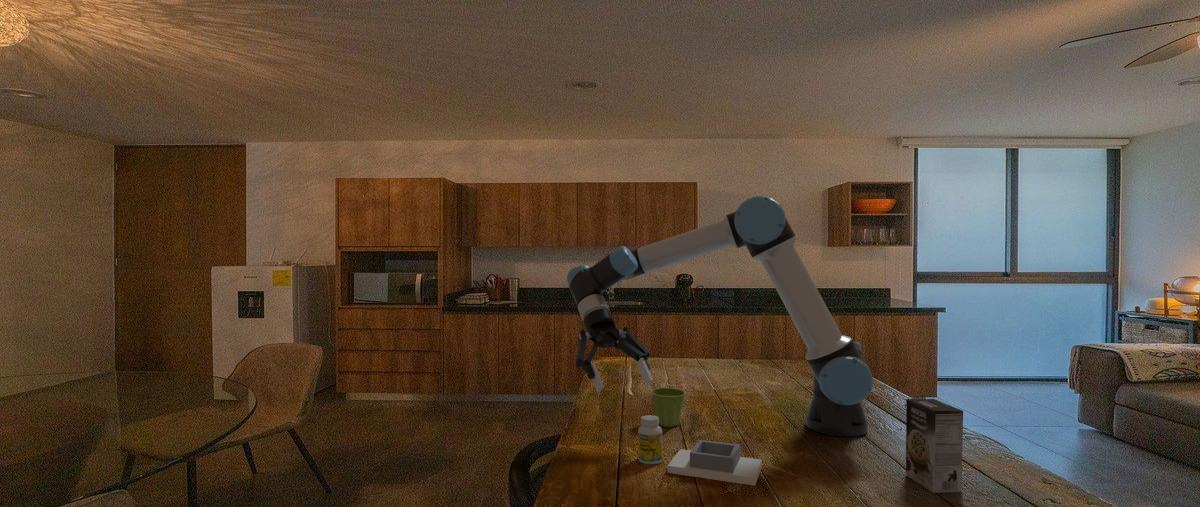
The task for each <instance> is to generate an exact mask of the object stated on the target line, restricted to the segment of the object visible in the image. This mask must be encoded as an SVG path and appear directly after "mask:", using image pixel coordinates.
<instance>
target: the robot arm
mask: <svg viewBox="0 0 1200 507" xmlns="http://www.w3.org/2000/svg"><path fill="white" fill-rule="evenodd" d="M796 238H797V236H796V234H795V232H794V230H793V228H792V227H791V225H790V223H789V220H788V219H787V217H786V214H785V210H784V207H782V205H781V204H780V203H779V202H778V201H777V200H776V199H774V198H773V197H770V196H767V195H755V196H752V197H750V198H747V199H746V200H744V201H743V202H741V204H740V205H739V206H738V207H737V209H736V211H734V212H731V213H728V214H726V215H724V218H723V219H722V220H719V221H716V222H713V223H710V224H708V225H703V226H701V227H698V228H697V227H696V228H695V229H692V230H689V231H686V232H683V233H680V234H676V235H674V236H670V237H667V238H664V239H662V240H659V241H656V242H653V243H650V244H647V245H643V246H641V247H638V248H635V249H631V250H630V249H629V248H627V247H626V246H624V245H621V246H619V247H617V248H616V249H615V250H614V249H612V251H611V252H610V253H608V254H607V255H606V256H604V257H603V258H602V259H600V260H599V261H597V262H596V263H595V264H593V265H591V266H588V265H587V264H580V265H579V266H574V267H572V268H571V269H570V270H569V272H568V273H567V275H566V281H567V284H568V289H569V291H570V293H571V296H572V298H573V300H574V302H575V305H576V308H577V311H578V312H579V315H580V318H581V319H582V320H581V321H583V325H584V327H585V329H580V332H579V333H578V336H577V339H578V348H577V352H576V353H577V354H576V360H575V367H577V368H581V370H583V371H584V372H586V376H587V378H588V379H589V380H592V383H593V386H594V388H595V391H596V393H597V394H598V393H601V391H602V390H603V388H604V386H605V385H604V383H603V381H602V378H601V375H600V373H599V370H598V368H597V365H596V363H595V362H592V361H593V359H594V357H595V355H596V353H597V350H598V349H599V347H600V348H601V349H606V348H615V349H617V350H620V351H622V352H623V353H625V354H626V355H627V356H629V357H630V358H632V359H633V360H635V361H636V366H637V368H638V371H639V373H640V376H641V378H642V380H643V382H644V384H645V387H649V386H650V385H651V384H652V383H653V381H654V378H653V376H652V374H651V372H650V371H651V366H650V364H649V362H648V359H649V358H650V356H651V355H652V353H651V352H652V351H650V350H649V349H648V348H647V347H646V346H645V345H644V344H643V343H642V342H641V341H639V339H637V338H636V337H635V336H634V335H633V334H632V333H631V331H630V329H629V328H628V327H627V326H624V327H623V329H618V328H617V327H616V323H615V319H614V318H613V316H612V313H611V311H610V308H609V306H608V303H607V301H606V300H605V297H604V295H603V293H604V292H606V291H608V289H610V288H612V287H613V286H615V285H616V284H618V283H619V282H622V281H626V280H631V279H634V278H635V277H639V276H642V275H645V274H648V273H651V272H654V271H657V270H661V269H664V268H667V267H670V266H673V265H675V264H679V263H682V262H686V261H689V260H692V259H695V258H699V257H701V256H704V255H708V254H712V253H713V252H718V251H721V250H724V249H727V248H730V247H733V248H735V249H739V248H742V247H746V249H747V250H748V252H749V254H750V256H751V258H752V259H753V260H756V261H759V262H761V264H762V266H763V267H764V270H765V271H766V273H767V275H768V278H770V280H771V282H772V284H773V286H774V287H775V290H776V292H777V293H778V295H779V297H780V299H781V301H782V303H783V305H784V306H785V309H786V311H787V313H788V314H789V317H790V318H791V320H792V322H793V323H794V326H795V327H796V329H797V331H798V333H799V334H800V337H801V339H802V341H803V343H804V344H805V346H806V348H807V352H806V354H805V359H806V361H807V363H808V366H809V367H810V369H811V371H812V374H813V375H812V376H813V377H812V399H811V401H810V405H809V407H808V410H807V413H806V414H805V415H806V416H805V426H806V428H808V429H810V431H813V432H816V433H818V434H819V433H820V434H824V435H829V436H834V437H846V438H848V437H849V438H852V437H860V436H861V437H862V436H863V435H867V433H868V432H869V422H868V419H867V416H866V414H865V412H866V411H865V410H864V408H863V407H864V406H863V404H862V402H863V401H864V400H865V399H866V398H867V397H868V396H869V395H870V393H871V392H872V389H873V385H874V379H873V372H872V370H871V368H870V367H869V365H868V364H867V363H866V362H865V361H864V359H863V357H862V354H863V353H862V352H863V351H862V346H861V344H860V343H859V342H858V341H853V339H852V338H851V336H847V335H844V334H842V332H841V331H840V328H839V327H838V325H837V323H836V321H835V319H834V318H833V316H832V314H831V312H830V310H829V309H828V306H827V305H826V304H827V303H825V301H824V299H823V297H822V295H821V294H820V292H819V290H818V288H817V286H816V285H815V283H814V282H815V281H814V280H813V278H812V277H811V275H810V274H809V272H808V269H807V268H806V266H805V264H804V262H803V260H802V259H801V256H800V255H799V253H798V251H797V250H796V247H795V242H796ZM585 330H586V331H585ZM588 340H590V341H591V342H592V343H593V344H592V347H591V349H590V351H589V353H588V355H587V357H586V359H584V358H585V352H586V347H587V346H586V345H587V341H588ZM617 342H618V343H617Z"/></svg>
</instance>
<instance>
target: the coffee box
mask: <svg viewBox="0 0 1200 507" xmlns="http://www.w3.org/2000/svg"><path fill="white" fill-rule="evenodd" d="M905 400H906V403H905V405H906V406H905V410H906V411H905V412H906V413H905V417H906V418H905V420H906V422H905V425H906V426H905V427H906V428H905V433H906V434H905V444H906V445H905V476H906V477H908V478H910V479H911V480H913V481H914V482H915V483H917V484H919V485H921V487H923V488H925V489H926V490H928V491H929V492H930V493H933V494H934V493H937V494H938V493H939V494H941V493H942V494H943V493H962V491H963V490H962V484H963V482H962V481H963V477H962V476H963V445H964V444H963V441H964V438H963V437H964V432H963V431H964V410H962V409H960V408H957V407H954V406H953V405H949V404H947V403H946V402H943V401H941V400H938V399H936V398H906V399H905Z"/></svg>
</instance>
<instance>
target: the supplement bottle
mask: <svg viewBox="0 0 1200 507" xmlns="http://www.w3.org/2000/svg"><path fill="white" fill-rule="evenodd" d="M637 455H638V456H637V459H638V461H639V463H642V464H645V465H658V464H660V463H661V462H662V461H663V429H662V426H661V425H660V424H659V418H658V417H657V416H655V415H651V414H650V415H649V414H648V415H643V416H641V418H640V426H639V427H638V429H637Z"/></svg>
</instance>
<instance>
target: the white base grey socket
mask: <svg viewBox="0 0 1200 507" xmlns="http://www.w3.org/2000/svg"><path fill="white" fill-rule="evenodd" d="M762 467H763V460H762V459H758V458H751V457H743V456H741V444H736V443H728V442H720V441H714V440H713V441H711V440H705V439H698V440H697V442H696V443H695V445H694V446H693V447H692V449H691V450H689V449H683V448H680V449H679V450H678V451H677V453H676V454H675V455H674V457H673V458H672V460H670V462H669V463H668V464H667V473H668V474H674V475H679V476H687V477H695V478H701V479H707V480H715V481H721V482H726V483H727V482H728V483H733V484H734V483H736V484H740V485H741V484H742V485H749V486H753V487H755V486H756V484H757V483H758V482H757V481H758V479H759V476H760V473H761V470H762Z"/></svg>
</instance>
